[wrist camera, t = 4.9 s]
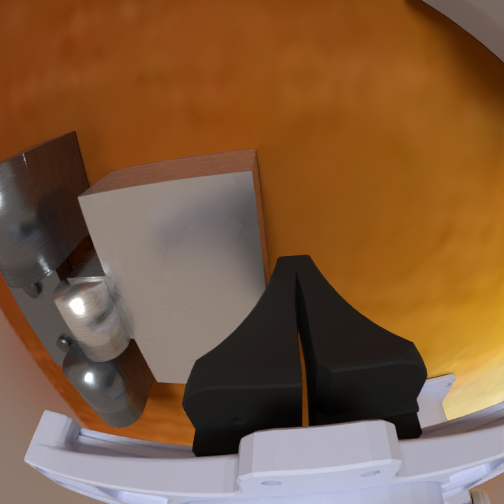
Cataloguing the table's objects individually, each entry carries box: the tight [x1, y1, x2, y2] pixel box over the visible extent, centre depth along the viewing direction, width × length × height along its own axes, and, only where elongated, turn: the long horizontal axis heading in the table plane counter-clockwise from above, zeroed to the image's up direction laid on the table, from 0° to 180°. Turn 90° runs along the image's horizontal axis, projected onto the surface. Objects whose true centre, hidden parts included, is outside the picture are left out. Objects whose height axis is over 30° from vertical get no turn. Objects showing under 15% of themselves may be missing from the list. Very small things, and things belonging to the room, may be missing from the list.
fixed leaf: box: [0, 131, 154, 428], centre depth 13 cm, size 14×8×5 cm, turn 7°
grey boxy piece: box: [52, 149, 270, 384], centre depth 12 cm, size 10×9×5 cm
